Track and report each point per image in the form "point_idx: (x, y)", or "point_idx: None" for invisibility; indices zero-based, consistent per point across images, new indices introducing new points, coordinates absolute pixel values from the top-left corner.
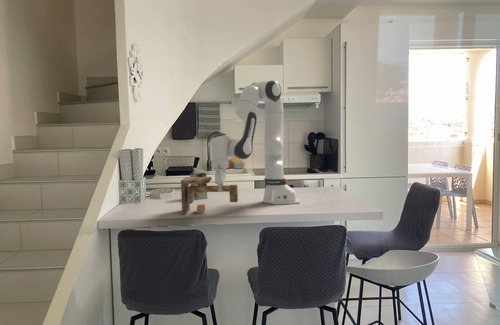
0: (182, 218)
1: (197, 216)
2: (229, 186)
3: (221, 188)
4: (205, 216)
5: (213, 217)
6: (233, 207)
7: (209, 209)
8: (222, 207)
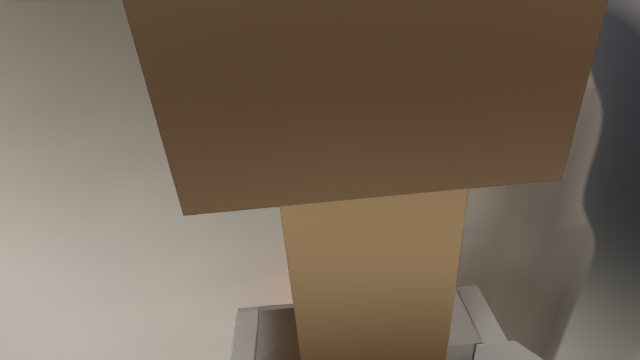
0: (550, 344)
1: (506, 276)
2: (559, 166)
3: (498, 326)
4: (521, 221)
5: (582, 147)
6: (33, 15)
7: (215, 254)
8: (80, 155)
